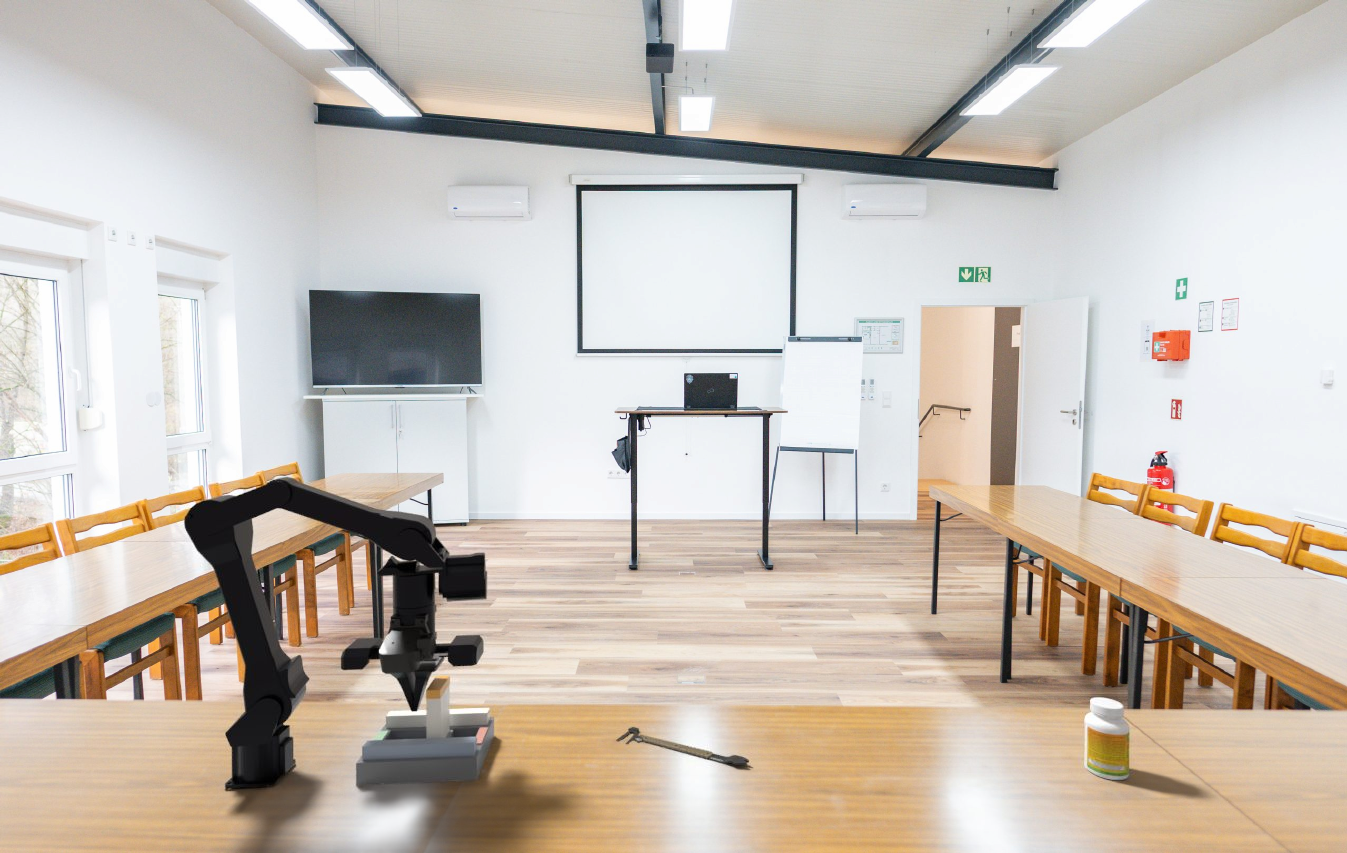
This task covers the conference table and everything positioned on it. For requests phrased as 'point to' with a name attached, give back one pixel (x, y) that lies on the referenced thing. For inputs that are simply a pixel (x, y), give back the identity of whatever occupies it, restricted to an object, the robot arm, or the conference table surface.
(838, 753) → the conference table surface
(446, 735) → the handle
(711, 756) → the tactical tomahawk
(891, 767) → the conference table surface
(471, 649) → the robot arm
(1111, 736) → the supplement bottle
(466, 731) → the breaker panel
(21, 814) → the conference table surface
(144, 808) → the conference table surface
